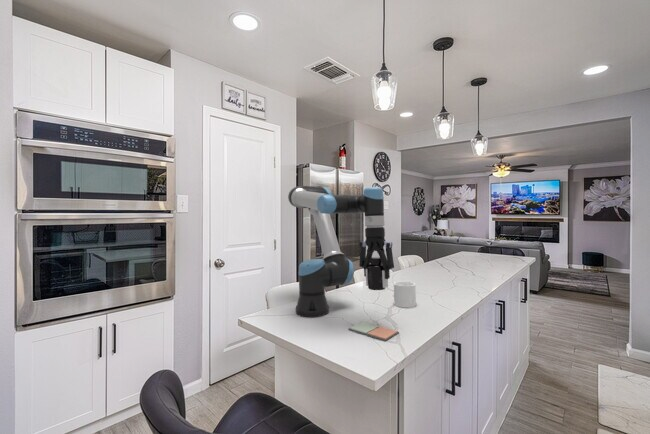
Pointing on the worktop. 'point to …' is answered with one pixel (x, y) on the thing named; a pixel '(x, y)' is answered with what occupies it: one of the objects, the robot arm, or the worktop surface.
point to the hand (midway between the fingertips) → (376, 286)
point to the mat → (374, 331)
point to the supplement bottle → (375, 274)
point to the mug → (404, 294)
